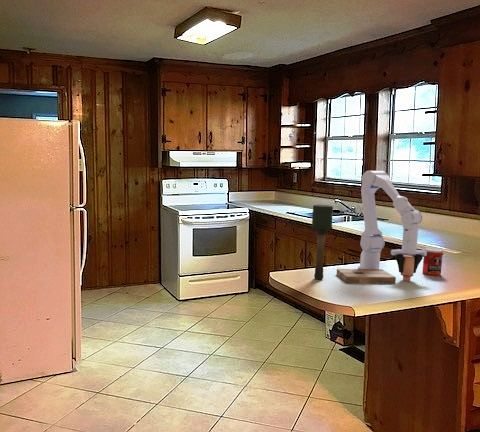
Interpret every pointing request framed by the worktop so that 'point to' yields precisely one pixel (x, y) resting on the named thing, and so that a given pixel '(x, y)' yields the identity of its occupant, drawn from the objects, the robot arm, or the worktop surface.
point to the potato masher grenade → (321, 233)
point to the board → (365, 276)
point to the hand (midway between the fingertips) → (407, 272)
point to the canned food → (432, 262)
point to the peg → (408, 268)
